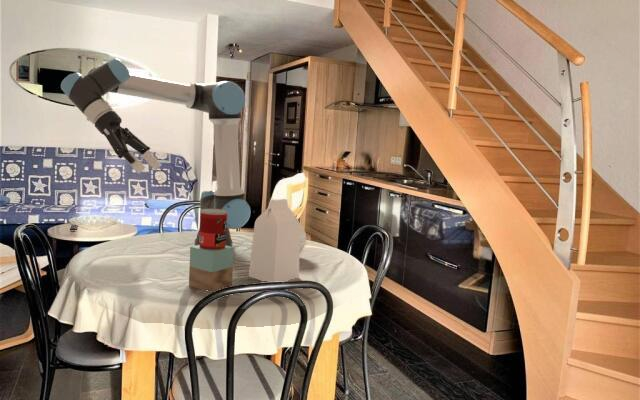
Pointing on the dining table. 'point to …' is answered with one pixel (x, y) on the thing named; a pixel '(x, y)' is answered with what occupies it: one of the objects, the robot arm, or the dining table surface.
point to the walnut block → (210, 278)
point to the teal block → (211, 258)
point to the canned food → (213, 229)
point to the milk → (275, 244)
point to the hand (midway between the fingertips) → (150, 169)
